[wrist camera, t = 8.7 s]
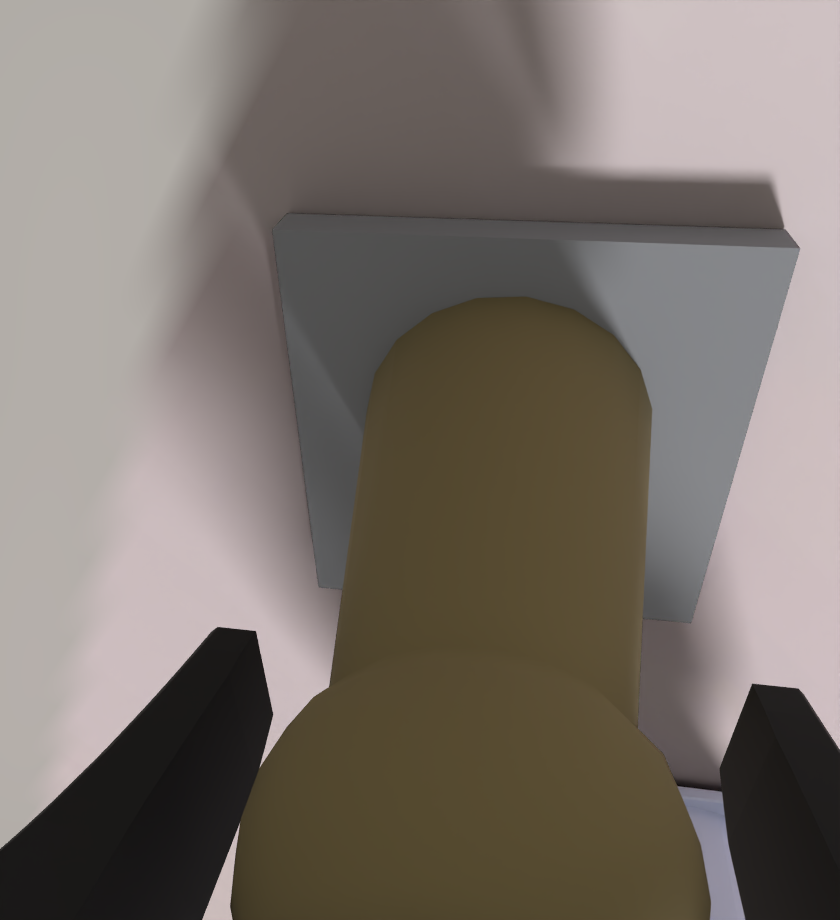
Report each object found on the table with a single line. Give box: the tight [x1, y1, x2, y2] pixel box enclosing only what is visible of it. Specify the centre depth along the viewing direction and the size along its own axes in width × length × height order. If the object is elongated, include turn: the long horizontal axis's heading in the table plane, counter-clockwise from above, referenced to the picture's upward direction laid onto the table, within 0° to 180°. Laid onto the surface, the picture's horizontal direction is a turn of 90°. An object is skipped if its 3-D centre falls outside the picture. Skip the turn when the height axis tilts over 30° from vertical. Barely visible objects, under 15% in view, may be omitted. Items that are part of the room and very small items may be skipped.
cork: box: [230, 297, 711, 920], centre depth 11 cm, size 6×6×11 cm
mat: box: [272, 213, 800, 623], centre depth 17 cm, size 10×10×1 cm
